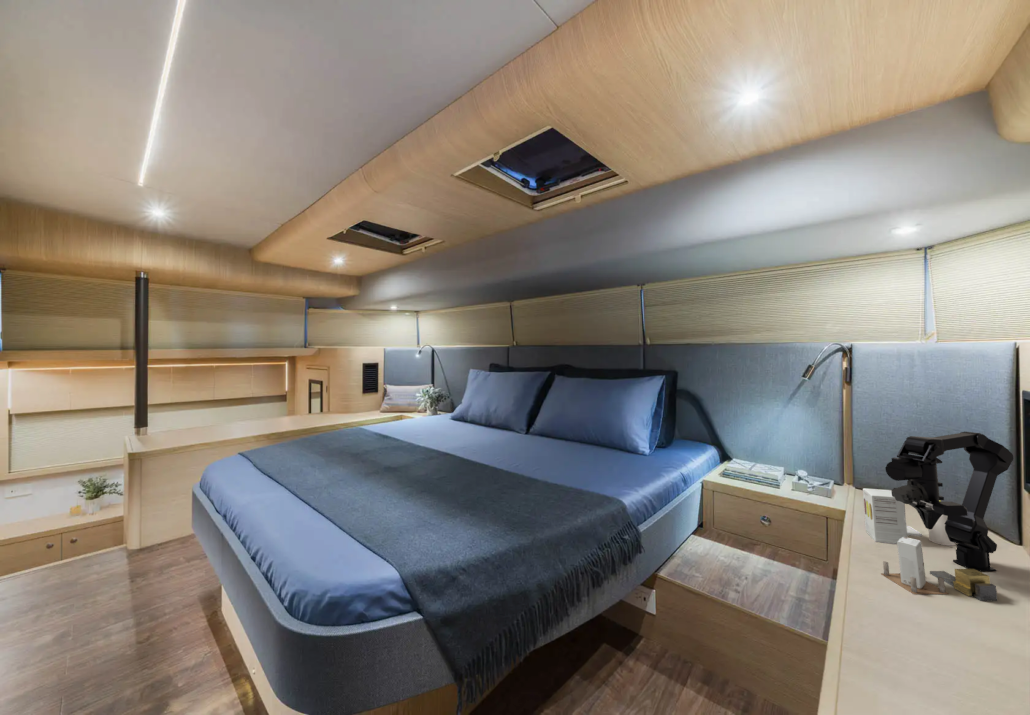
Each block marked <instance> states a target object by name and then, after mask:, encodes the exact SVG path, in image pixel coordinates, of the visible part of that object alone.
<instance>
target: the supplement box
mask: <svg viewBox="0 0 1030 715" xmlns="http://www.w3.org/2000/svg"><path fill="white" fill-rule="evenodd" d="M891 490H892V489H881V488H880V489H879V488H878V489H877V488H862V496H863V508H864V510H863V511H864V520H865V521H864V522H865V524H864V525H865V532H866V533H867V534H868V536H870V538H871V539H872V540H873V541H874V542H876V543H883V544H884V543H886V544H894V545H897V541H899V539H900V538H902V537H907V538H908V535H907V527H906V526H907V520H906V519H907V518H906V517H907V516H906V504H904V503H903V502H900V501H896V499H895V497H893V496H892V491H891Z"/></svg>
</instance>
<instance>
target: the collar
mask: <svg viewBox="0 0 1030 715" xmlns="http://www.w3.org/2000/svg"><path fill="white" fill-rule="evenodd" d="M954 576H955V579H956V581H953V582H954V586H953V589H954V590H957V591H958V592H960V593H963V594H964V595H965V596H967V597H973V596H972V593H976V590H975V584H991V578H990V575H988V574H986V573H984V572H983V571H977V570H975V569H968V568H954Z"/></svg>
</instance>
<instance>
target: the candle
mask: <svg viewBox="0 0 1030 715" xmlns="http://www.w3.org/2000/svg"><path fill="white" fill-rule="evenodd" d="M939 502H942V500H939ZM947 517H948V516H946V515H942V516H941V517H940V518H939V519H938V521H937V522H936V524H935V525H934V527H933V528H932V529H927V530H928V540H929V541H930V542H932V543H934V544H938V545H943V546H948V547H949V546H955V545H956V543H954V542H951V541H950V540H949V538H948V535H947V533H946V531H945V522H946V521H947Z"/></svg>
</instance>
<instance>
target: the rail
mask: <svg viewBox="0 0 1030 715" xmlns="http://www.w3.org/2000/svg"><path fill="white" fill-rule="evenodd" d="M931 574H932V575H931ZM929 575H931V576H933V577H935V578H937V579H938V577H942V578H944V583H945V584H948V585H951V586H952V587H954V582H953V581H956V579H955V575H953V574H952V573H951V574H950V573H948V572H947V571H944V570H930V571H929ZM975 590H976V593H972V596H971V597H973V598H974V599H976V600H978V601H980V602H998V595H997V594H998V592H997V591H998V590H997V585H995V584H992V583H990V584H975Z"/></svg>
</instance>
